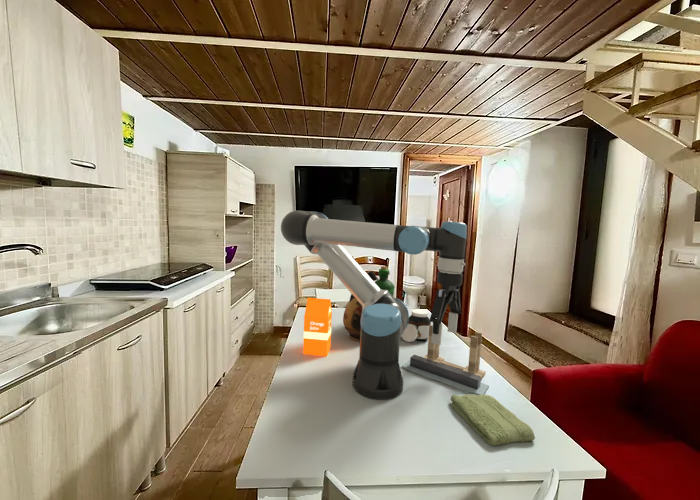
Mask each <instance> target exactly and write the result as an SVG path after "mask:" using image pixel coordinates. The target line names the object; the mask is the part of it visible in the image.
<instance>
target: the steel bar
mask: <svg viewBox="0 0 700 500" xmlns="http://www.w3.org/2000/svg"><path fill="white" fill-rule="evenodd" d="M423 357H424V356H420V355H417V354H413V355H411V357H410V358H409V359H410V366H412V367H414V368H417V369H420V370H423V371H426V372H429V373H431V374H434V375H437V376H440V377H443V378H445V379H448V380H451V381H454V382H457V383H459V384H462V385H465V386H468V387H471V388H474V389H476V390H478V388H479V387H480V383H482V380H481V376H478V375H475V374H472V373H469V372H466V371H463V370H460V369H457V368H454V367H451V366H448V365H445V364H442V363H439V362H436V361H433V360H430V359H426V358H423Z"/></svg>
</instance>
